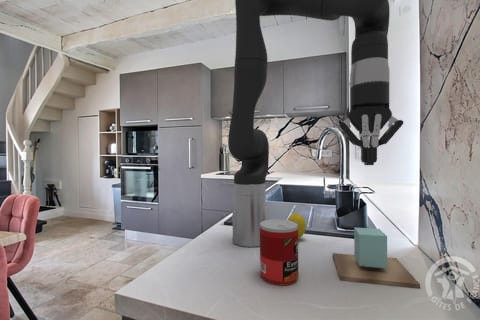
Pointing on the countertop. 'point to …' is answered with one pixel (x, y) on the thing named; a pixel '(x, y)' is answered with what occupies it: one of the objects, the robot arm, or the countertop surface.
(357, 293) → the countertop surface
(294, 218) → the lemon
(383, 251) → the mint foam cube
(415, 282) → the stand
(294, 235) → the canned food
